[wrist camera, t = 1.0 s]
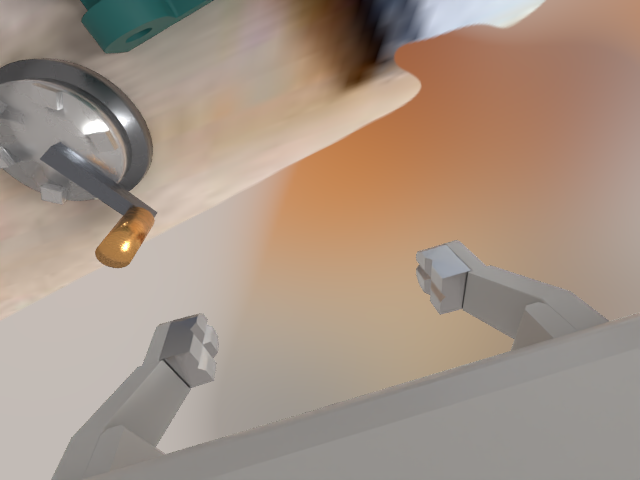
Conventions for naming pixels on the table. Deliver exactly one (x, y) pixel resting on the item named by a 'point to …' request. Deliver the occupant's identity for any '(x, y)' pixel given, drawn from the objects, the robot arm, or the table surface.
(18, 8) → the table surface
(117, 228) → the lugged valve handwheel
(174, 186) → the table surface
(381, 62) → the table surface
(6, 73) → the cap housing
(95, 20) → the bracket
